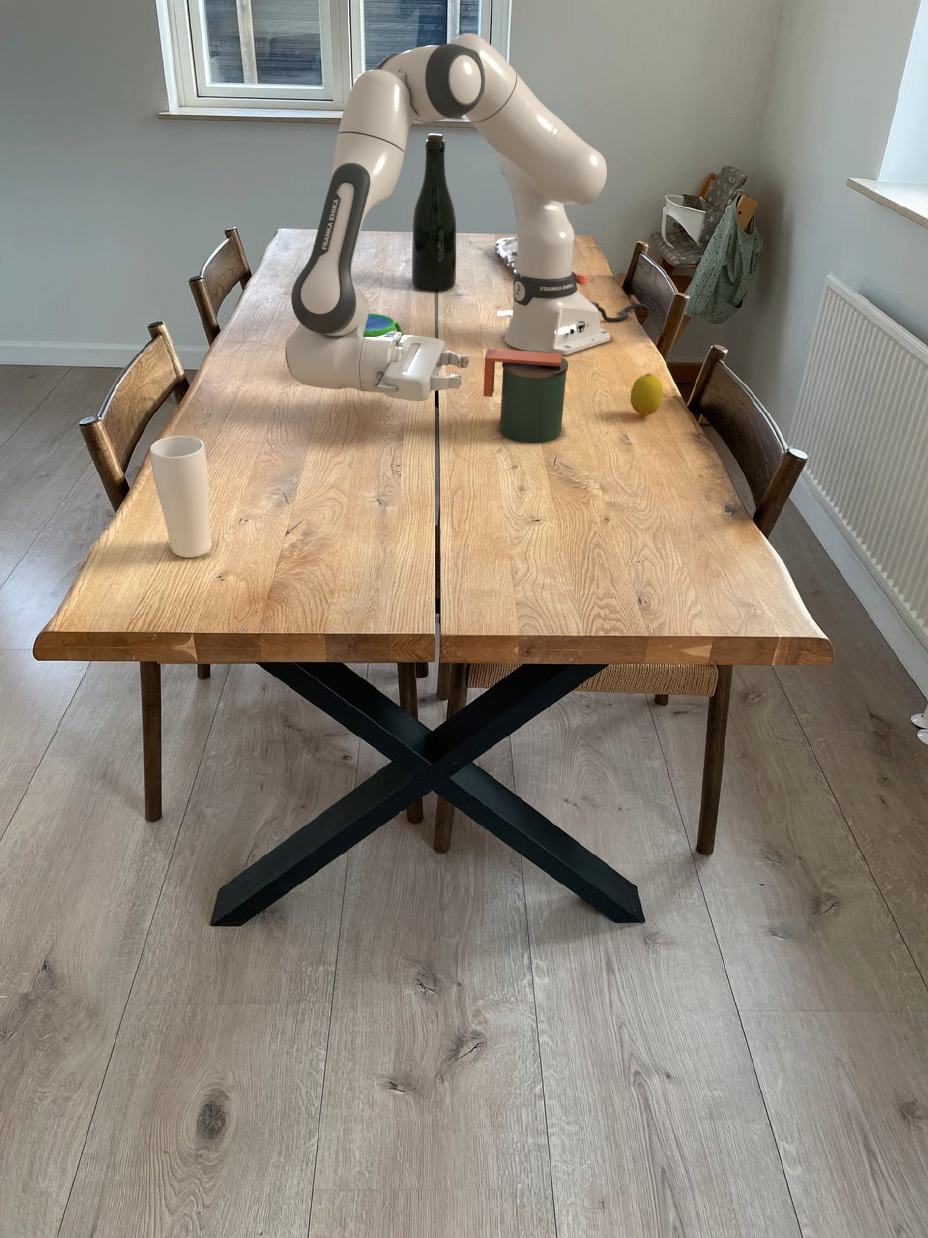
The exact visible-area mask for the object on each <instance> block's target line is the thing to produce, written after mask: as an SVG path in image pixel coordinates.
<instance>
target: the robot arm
mask: <svg viewBox="0 0 928 1238" xmlns="http://www.w3.org/2000/svg"><path fill="white" fill-rule="evenodd" d="M462 116H465V117H466V118H467V119H468V121H469V122H470V123H471V124H472V125H473V126H474V128H475V129H476V130H477V131H478V132H479V133H480V134H481V136H482V137H483V138H484V139H485V140H486V141H487V142H488V143H489V145H490V146H491V147H492V148H493V149H494V150H495V151H496V152H497V153H499V155H498V167H499V171H500V173H501V175H502V177H503V178H504V181H505V182H506V184H507V187H508V188H509V191H510V195H511V199H512V203H513V208H514V213H515V218H516V219H515V220H516V226H517V227H516V228H517V238H518V248H517V269H516V270H515V271H514V276H513V284H512V287H513V288H512V294H513V303H512V309H511V310H503V311H497V316H507V315H510V319H509V323H508V327H507V330H506V333H505V335H504V342H505V343H506V344H507V345H508V346H510V347H513V348H515V349H517V350H520V351H543V352H549V353H556V354H562V356H568V355H570V354H574V353H577V352H581V351H583V350H586V349H589V348H592V347H595V346H598V345H601V344H604V343H608V342H610V341H611V335H610V333H609V332H608V331H607V330H605V328H602V327H601V317H602V319H603V320H604V321H606V322H609V323H617V322H622V321H625V320H627V319H628V317H629V315H628V313H627V312H629V311H631V310H635V309H644V310H645V311H648V312H649V311H651V308H650V307H649V306H648V305H647V304H645V303H640V302H639V303H634V304H630V305H628V306H626V307H624V308H622V309H621V311H620V313H621V315H622V316H618V317H609V316H607V315H608V314H607V313H606V310H605V308H603V307H602V306H600V303H598V302H596V301H591V300H589V298H587V297H586V296H584V295H583V294H582V293H581V292H580V291H579V290H578V286H577V284H579V285H580V286H582V287H583V286H586V285H587V284H588V282H589V277H588V276H587V275H586V274H583V273H580V272H579V273H578V274H576V272H574V271H573V261H574V251H575V240H576V239H575V238H576V236H575V230H574V227H573V225H572V224H571V222H570V220H569V218H568V217H567V216H568V215H567V213H566V209H565V206H564V205H566V206H584V205H589V204H591V203H593V202H594V201H595V200H596V199H597V198H598V197H599V196H600V195H601V193H602V192H603V190H604V188H605V186H606V182H607V177H608V168H607V167H608V166H607V162H606V159H605V157H604V156H603V155H602V153H601V152H600V151H599V150H597V149H595V148H594V147H592V146H591V145H590V144H588V143H587V142H586V141H584V140H583V139H582V138H581V137H580V136H579V135H578V134H577V133H576V132H575V131H574V130H572V129H571V128H570V126H568V125H567V124H566V123H565V122H563V121H562V120H561V119H560V118H559V117H558V116H557V115H556V114H555V113H553V112H552V111H551V110H549V109H548V108H547V107H546V106H545V105H544V104H543V102H541V101H540V100H539V99H538V97H536V95H535V94H534V93H533V91H532V90H531V89H530V87H528V85H527V83H525V81H524V80H523V79H522V77H520V75H519V74H518V73H517V72H516V70H515V69H514V68H513V66H512V65H511V64H510V63H509V61H507V59H506V58H505V57H504V56H503V55H502V54H501V53H500V52H499V51H498V50H497V49H496V48H495V47H493V45H491V44H490V43H489V42H488V41H487V40H485V39H484V38H482V37H481V36H479V35H478V34H476V33H471V32H470V33H463V34H460V35H458V36H457V37H454V39H452V40H451V41H450V42H449V43H444V44H443V43H442V44H441V45H425V46H418V47H415V48H413V49H410V50H407V51H404V52H400V53H399V52H398V53H393V54H391V55H389V56H387V57H385V58H384V59H382V60H381V61H380V62H379V63H378V64H377V65H375V68H374V69H368V70H366V71H362V73H360V74H359V75H358V76H357V77H356V78H355V80H354V82H353V84H352V86H351V89H350V92H349V94H348V97H347V99H346V102H345V106H344V108H343V112H342V116H341V120H340V124H339V127H338V133H337V136H336V142H335V148H334V149H335V150H334V153H333V160H332V167H331V175H330V180H329V184H328V191H327V194H326V197H325V201H324V204H323V209H322V213H321V217H320V221H319V224H318V228H317V233H316V236H315V239H314V245H313V248H312V252H311V254H310V257H309V259H308V261H307V262H306V264H305V266H303V269H302V270H301V272H300V273H299V275H298V276H297V277H296V280H295V282H294V284H293V286H292V290H291V295H290V302H291V307H292V311H293V313H294V316H295V317H296V319H297V321H298V322H299V324H298V326H297V327H296V329H295V330H293V333H291V335H289V337H288V338H287V339H286V343H285V347H284V348H285V352H284V353H285V362H286V366H287V368H288V371H289V373H290V375H291V377H292V378H294V380H295V381H296V382H298V383H300V384H301V385H305V386H309V387H314V388H320V389H327V390H328V389H329V390H343V389H355V390H357V391H360V392H369V393H380V394H384V395H385V396H386V397H389V398H393V399H398V400H404V401H411V402H412V401H413V402H423V401H427V400H428V399H429V397H430V395H431V393H432V391H435V392H436V391H437V392H438V391H444V390H447V389H448V390H449V389H454V390H458V389H460V387H461V386H462V376H461V375H460V374H450V375H444V376H442V375H441V376H440V375H439V374H440V372H441V369H442V368H443V367H442V366H449V365H450V366H455V367H456V368H458V369H459V368H460V369H466V368H468V366H469V364H470V357H469V355H467V354H459V353H457V352H454V351H451V350H446V342H445V341H443V340H442V339H439V338H436V337H429V336H422V335H411V334H410V335H409V334H407V335H403V337H402V335H401V332H397V331H392V332H389V333H387V334H385V335H383V336H380V337H375V338H371V337H363V336H364V333H365V329H366V324H367V320H368V314H370V307H369V301H368V298H367V296H366V294H365V292H364V291H363V289H361V288H360V286H358V285H357V284H356V283H355V282H354V281H353V274H352V267H353V263H354V258H355V254H356V252H357V251H356V250H357V248H358V247H357V246H358V243H359V238H360V235H361V230H362V227H363V224H364V221H365V218H366V216H367V214H368V212H369V211H370V210H371V209H372V208H373V207H374V206H376V205H378V204H381V203H382V202H384V201H386V200H387V199H389V198H390V197H391V196H392V194H393V193H394V190H395V187H396V185H397V182H398V180H399V177H400V174H401V171H402V167H403V163H404V158H405V154H406V149H407V144H408V135H409V131H410V128H411V126H412V124H431V123H435V122H439V121H444V120H447V119H458V118H460V117H462ZM600 313H601V314H600Z"/></svg>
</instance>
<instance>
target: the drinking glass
mask: <svg viewBox="0 0 928 1238" xmlns="http://www.w3.org/2000/svg"><path fill="white" fill-rule="evenodd" d="M149 453H150V464H151V469H152V470H151V471H152V475H153V479H154V480H153V481H154V484H155V488H156V492H157V495H158V500H159V504H160V508H161V511H162V515H163V518H164V522H165V523H164V524H165V526H166V530H167V531H166V532H167V535H168V539H169V540H168V541H169V545H170V546H169V547H170V549H171V551H172V553H173V554H175V555H176V556H178V557H181V558H189V559H190V558H197V557H198V558H199V557H200V556H203V555H205V554H206V553H208V552H209V551H210V550H211V549H212V547H213V546H212V545H213V542H212V541H213V539H212V534H211V515H210V514H211V513H210V486H209V483H210V482H209V468H208V460H207V456H206V455H207V454H206V449H205V444H204V441H202V440H201V439H200V438H197V437H194V436H191V435H173V436H168V437H167V436H166V437H163V438H160V439H158V440H156V441H155V442H153V443H152V444H151V445H150V447H149Z"/></svg>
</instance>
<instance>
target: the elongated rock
mask: <svg viewBox="0 0 928 1238" xmlns="http://www.w3.org/2000/svg"><path fill="white" fill-rule="evenodd" d="M517 248H518V237H509V236H507V237H502V238H500V239H498V240H497V241H496V244H495V250H496V252H495V254H496V255H497V256H498V257H499V258H500V263H502V264H503V265H504V268H506V269H507V270H508V271H509V272H510V273H511V274H512V276H513V277H514V271H515V270H516V269H517Z"/></svg>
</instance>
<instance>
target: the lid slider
mask: <svg viewBox="0 0 928 1238" xmlns="http://www.w3.org/2000/svg"><path fill="white" fill-rule="evenodd" d="M562 357H563V355H562V354H556V353H542V352H528V351H525V350H515V349H514V350H512V349H500V348H499V349H498V348H487V349H486V353H485V355H484V374H483V397H485V398H492V397H493V394H494V392H495V391H494V389H495V371H496V370H495V369H496V363H502V362H506V363H520V364H533V365H547V366H561V359H562Z"/></svg>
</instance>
